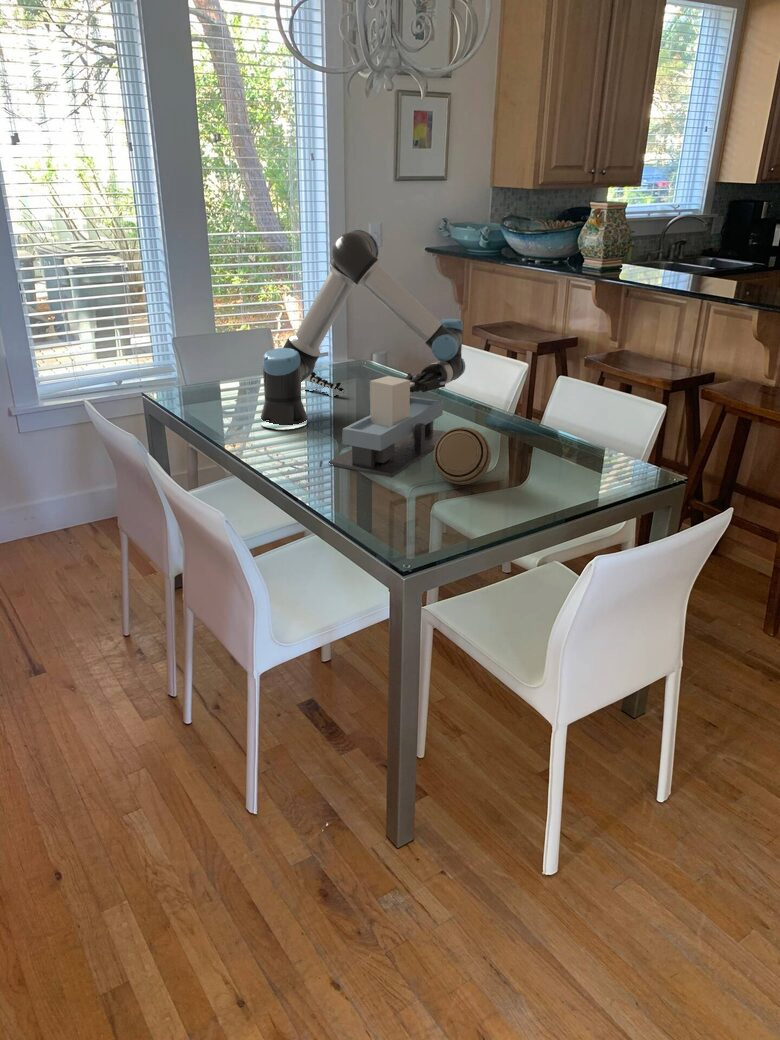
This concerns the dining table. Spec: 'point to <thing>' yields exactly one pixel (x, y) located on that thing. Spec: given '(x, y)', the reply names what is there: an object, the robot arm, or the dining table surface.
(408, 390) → the block
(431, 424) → the beam stand
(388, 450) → the grey tray on legs
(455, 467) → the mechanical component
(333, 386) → the logo
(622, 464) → the dining table surface
